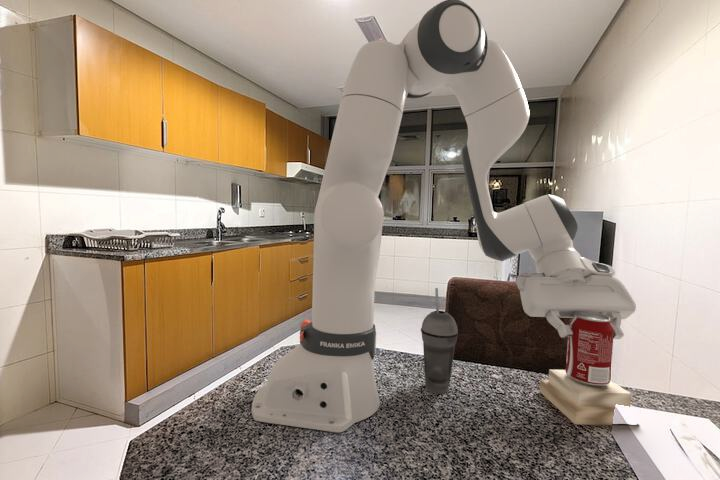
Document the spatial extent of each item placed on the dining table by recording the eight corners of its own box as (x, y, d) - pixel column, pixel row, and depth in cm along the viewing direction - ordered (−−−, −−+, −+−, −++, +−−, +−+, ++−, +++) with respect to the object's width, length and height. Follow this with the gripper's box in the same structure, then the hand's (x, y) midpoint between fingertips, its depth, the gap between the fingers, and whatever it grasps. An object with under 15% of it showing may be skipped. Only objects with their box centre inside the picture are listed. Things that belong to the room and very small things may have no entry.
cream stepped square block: (574, 424, 58) (576, 395, 57) (539, 391, 69) (541, 367, 68) (639, 425, 58) (641, 396, 58) (594, 392, 69) (595, 368, 69)
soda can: (617, 392, 59) (622, 322, 58) (573, 386, 60) (578, 319, 60) (599, 375, 66) (603, 313, 65) (560, 370, 67) (564, 309, 66)
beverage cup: (438, 401, 64) (443, 294, 63) (410, 385, 70) (414, 287, 69) (463, 390, 68) (468, 290, 67) (435, 376, 74) (439, 284, 73)
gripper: (519, 263, 69) (542, 327, 59) (620, 266, 69) (659, 330, 60) (507, 281, 73) (528, 343, 64) (602, 284, 74) (636, 346, 64)
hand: (592, 337), depth 62 cm, fingers open, 8 cm apart
